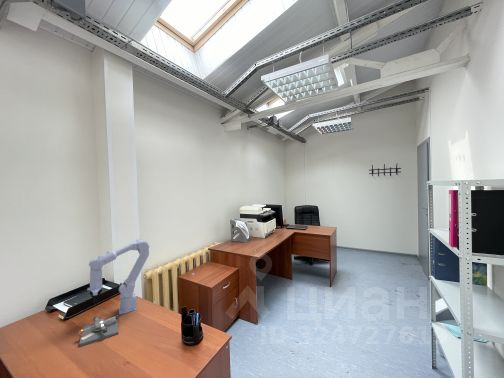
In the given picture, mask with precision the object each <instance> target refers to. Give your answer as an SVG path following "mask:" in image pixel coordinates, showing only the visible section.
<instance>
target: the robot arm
mask: <svg viewBox="0 0 504 378" xmlns="http://www.w3.org/2000/svg"><path fill="white" fill-rule="evenodd" d="M129 251H137V252H138V257H137V259H136V261H135V263H134V265H133V266H132V269H131V271H130V272H129V274H128V276H127V278H126V279H124V281H123V282H122V284H120V285H119V287H118V292H119V293H120V295H119V307H118V315H123V314H126V313H127V314H128V313H129V312H133V311H137V309H138V307H137V305H138V302H137V300H138V299H137V293H134V291H135V287H136V281H137V279H138V277H139V275H140V273H141V271H142V269H143V267H144V266H145V263H146V262H147V260H148V258H149V255H150V245H149V243H148V242H147V241H146V240H143V239H142V238H138V239H137V238H136V240H132V241H131V242H129V243H128V244H126V245H124V246H123V247H121V248H118V249H116V250H111V251H106V253H105V254H102V255H99V256H97V257H94V258H92V259H91V260H90V261H89V263H88V266H89V267H90V268H89V287H87V289H86V290H87V291H90V292H89V295H90V297H91V299H92V302H93V304H98V303H99V301H100V297H101V293H102V290H103V269H102V268H103V267H104V266H105V265H107V264H110V263H111V262H113V261H116V259H117V258H118V257H119V256H122V255H123V254H125V253H127V252H129Z"/></svg>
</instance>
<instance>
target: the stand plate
mask: <svg viewBox="0 0 504 378" xmlns="http://www.w3.org/2000/svg"><path fill="white" fill-rule="evenodd" d="M118 321H119V318H118V319H117V320H114V321H111V322H109V323H107V327H106V328H107V332H106V333H103V332H102V330H101V331H98V332H93V331H92V330H91V331H88V332H86V333H84V334H82V335H80V339H79V343H78V346H79V348H80V347H83V346H86V345H90V344H92V343H95V342H99V341H101V340H104V339H107V338H111V337H113V336H117V335H119V325H118V324H119V322H118ZM93 325H95V322H94V323H91V324H87V325H84V326H82V329H85V328H88V327H90V326H93Z"/></svg>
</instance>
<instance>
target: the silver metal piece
mask: <svg viewBox="0 0 504 378" xmlns="http://www.w3.org/2000/svg"><path fill="white" fill-rule="evenodd" d="M119 318H120V314H117V315H115V316H112V317H110V318H107V319H104V318H99V317H98V316H97V315H95V316H94V317H93V318H92V320H93V321H94V323H95V325H93V326H90V327H88V328H85V329H83V328H82V329H80V330H78V333H77V334H78V335H79V336H81V335H82V334H84V333H86V332H88V331H91V330H92V331H93V332H98V331H101V330H102V332H103V333H106V332H107V328H106V327H107V323H109V322H111V321H114V320H117V319H118V320H119Z"/></svg>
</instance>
